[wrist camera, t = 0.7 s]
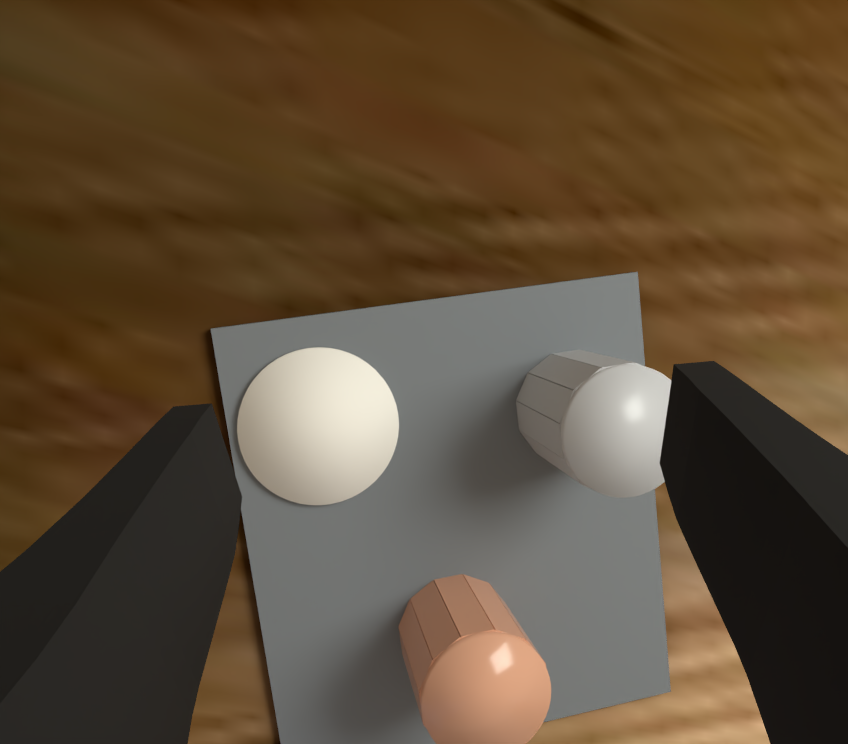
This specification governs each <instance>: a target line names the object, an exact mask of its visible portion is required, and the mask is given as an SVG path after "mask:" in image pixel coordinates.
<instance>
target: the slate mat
mask: <svg viewBox="0 0 848 744" xmlns="http://www.w3.org/2000/svg"><path fill="white" fill-rule="evenodd" d="M211 334H212V340H213V346H214V352H215V358H216V364H217V370H218V376H219V382H220V388H221V394H222V400H223V405H224V411H225V417H226V423H227V429H228V435H229V441H230V447H231V453H232V459H233V465H234V471H235V476H236V479H237V482H238V485H239V488H240V492H241V495H242V503H241V512H242V518H243V524H244V530H245V536H246V542H247V548H248V554H249V559H250V565H251V571H252V577H253V583H254V589H255V595H256V601H257V607H258V613H259V619H260V625H261V631H262V636H263V642H264V648H265V654H266V660H267V666H268V672H269V678H270V684H271V690H272V696H273V702H274V708H275V713H276V719H277V725H278V731H279V737H280V743H281V744H436V743H435V741H434V740H433V739H432V738H431V736H430V734H429V732H428V730H427V729H426V727H425V726H424V725H423V722H422V719H421V715H420V712H419V709H418V705H417V702H416V699H415V695H414V692H413V689H412V685H411V682H410V678H409V675H408V672H407V668H406V665H405V662H404V658H403V655H402V649H401V642H400V635H399V624H400V621H401V619H402V617H403V614H404V612H405V609H406V607H407V605H408V602H409V600H411V599H410V598H412V597H413V596H414V595H415V594H417V593H418V592H419V591H420V590H421V589H423V588H424V587H425V586H426V585H428V584H429V583H430V582H431V581H434V580H435V579H440V578H445V577H450V576H455V575H460V574H462V575H463V574H464V575H467V576H470V577H473V578H476V579H479V580H482V581H485V582H488V583H490V585H491V586H492V587H493V588H494V590H495V591H496V592H497V593H498V595H499V596H500V597H501V598H502V599H503V601H504V602H505V603H506V605H507V606H508V608H509V609H510V611H511V612H512V614H513V615H514V617H515V618H516V620H517V621H518V623H519V624H520V626H521V627H522V629H523V630H524V632H525V633H526V635H527V636H528V638H529V639H530V641H531V642H532V644H533V645H534V647H535V648H536V650H537V651H538V653H539V654H540V656H541V657H542V659H543V660H544V662H545V663H546V668H547V671H548V674H549V677H550V682H551V701H550V705H549V709H548V712H547V715H546V717H545V719H544V721H543V722H546V721H551V720H555V719H559V718H563V717H567V716H571V715H576V714H580V713H584V712H588V711H592V710H596V709H601V708H605V707H609V706H613V705H617V704H621V703H626V702H630V701H634V700H638V699H642V698H646V697H650V696H655V695H659V694H663V693H667V692H671V690H670V677H669V664H668V651H667V639H666V626H665V613H664V601H663V588H662V575H661V563H660V550H659V537H658V525H657V512H656V499H655V489H653V490H651V491H650V492H647V493H645V494H642V495H639V496H635V497H628V498H617V497H610V496H607V495H603V494H601V493H599V492H596V491H594V490H593V489H591V488H588V487H585V486H583V485H581V484H580V483H579V482H577V481H576V480H574V479H573V478H571V477H570V476H569V475H567V474H566V473H564V472H563V471H561V470H560V469H558V468H557V467H556V466H554V465H553V464H551V463H550V462H548V461H547V460H546V459H544V458H543V457H541V456H540V455H538V454H537V453H536V452H535V451H534V450H533V448H532V447H531V446H530V444H529V443H528V442H527V440H526V439H525V438H524V436H523V435H522V434H521V432H520V431H519V425H518V416H517V407H516V399H517V397H518V394H519V392H520V390H521V387H522V385H523V383H524V380H525V378H526V375H527V373H528V372H529V371H530V370H532V369H533V368H534V367H535V366H537V365H538V364H539V363H540V362H542V361H543V360H544V359H545V358H547V357H548V356H549V355H550V354H553V353H560V352H567V351H573V350H584V351H588V352H592V353H597V354H601V355H605V356H610V357H614V358H618V359H623V360H627V361H631V362H636V363H638V364H640V365H642V366H645V360H644V347H643V334H642V321H641V309H640V296H639V283H638V272H632V273H624V274H617V275H609V276H602V277H594V278H587V279H579V280H572V281H564V282H557V283H549V284H542V285H534V286H527V287H519V288H512V289H504V290H497V291H489V292H482V293H474V294H467V295H459V296H452V297H444V298H437V299H429V300H422V301H414V302H407V303H399V304H392V305H384V306H377V307H369V308H362V309H354V310H347V311H339V312H332V313H324V314H317V315H309V316H302V317H294V318H287V319H279V320H272V321H264V322H257V323H249V324H242V325H234V326H227V327H219V328H212V329H211Z"/></svg>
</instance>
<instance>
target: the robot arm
mask: <svg viewBox="0 0 848 744" xmlns="http://www.w3.org/2000/svg"><path fill="white" fill-rule="evenodd" d="M660 467H661V470H662V473H663V477H664V480H665V484H666V487H667V490H668V494H669V497H670V500H671V503H672V506H673V510H674V513H675V516H676V519H677V521H678V524H679V526H680V528H681V530H682V533H683V535H684V537H685V539H686V541H687V544H688V546H689V548H690V550H691V552H692V555H693V557H694V559H695V561H696V563H697V566H698V568H699V570H700V572H701V574H702V576H703V579H704V581H705V583H706V585H707V587H708V589H709V591H710V594H711V596H712V598H713V600H714V602H715V604H716V606H717V609H718V611H719V613H720V615H721V617H722V619H723V622H724V624H725V626H726V628H727V630H728V632H729V634H730V637H731V639H732V641H733V643H734V645H735V648H736V650H737V652H738V655H739V657H740V660H741V662H742V664H743V667H744V669H745V672H746V674H747V677H748V679H749V682H750V685H751V688H752V691H753V694H754V697H755V700H756V703H757V706H758V708H759V711H760V714H761V717H762V720H763V723H764V726H765V729H766V732H767V734H768V737H769V740H770V743H771V744H848V455H847V454H845V453H844V452H842V451H841V450H839V449H838V448H836V447H835V446H833V445H832V444H830V443H829V442H827V441H826V440H824V439H823V438H821V437H820V436H818V435H817V434H815V433H814V432H813V431H811V430H810V429H808V428H807V427H805V426H804V425H803V424H801V423H800V422H798V421H797V420H795V419H794V418H793V417H791V416H790V415H788V414H787V413H786V412H784V411H783V410H781V409H780V408H779V407H777V406H776V405H775V404H773V403H772V402H771V401H769V400H768V399H766V398H765V397H764V396H762V395H761V394H760V393H758V392H757V391H755V390H754V389H753V388H751V387H750V386H749V385H747V384H746V383H744V382H743V381H742V380H740V379H739V378H738V377H736V376H735V375H733V374H732V373H731V372H729V371H728V370H726V369H725V368H723V367H722V366H720V365H719V364H718V363H716V362H714V361H709V362H697V363H686V364H674V367H673V374H672V381H671V387H670V394H669V401H668V408H667V415H666V422H665V429H664V436H663V443H662V449H661V456H660ZM241 503H242V495H241V492H240V488H239V485H238V482H237V479H236V476H235V473H234V470H233V467H232V464H231V461H230V458H229V455H228V452H227V449H226V446H225V443H224V440H223V437H222V434H221V431H220V428H219V425H218V421H217V418H216V415H215V412H214V409H213V406H212V404H201V405H189V406H177V407H173V408H172V409H171V410H170V411H169V412H167V413H166V414H165V415H164V416H163V417H162V418H161V419H160V420H159V421H158V422H157V423H156V424H155V425H154V426H153V427H152V428H151V429H150V430H149V431H148V432H147V433H146V434H145V435H144V437H143V438H142V439H141V440H140V441H139V442H138V443H137V444H136V445H135V446H134V447H133V448H132V449H131V450H130V451H129V452H128V453H127V454H126V455H125V456H124V457H123V458H122V459H121V460H120V461H119V462H118V463H117V464H116V465H115V466H114V467H113V468H112V469H111V470H110V471H109V472H108V473H107V474H106V475H105V476H104V477H103V478H102V479H101V480H100V481H99V482H98V483H97V484H96V485H95V486H94V487H93V488H92V489H91V490H90V491H89V492H88V493H87V494H86V495H85V496H84V497H83V498H82V499H81V500H80V501H79V502H78V503H77V504H76V505H75V506H74V507H73V508H72V509H70V510H69V511H68V512H67V513H66V514H65V515H64V516H63V517H62V518H61V519H60V520H59V521H57V522H56V523H55V524H54V525H53V526H52V527H51V528H50V529H49V530H48V531H47V532H46V533H44V534H43V535H42V536H41V537H40V538H39V539H38V540H37V541H36V542H35V543H34V544H33V545H31V546H30V547H29V548H28V549H27V550H26V551H25V552H23V553H22V554H21V555H20V556H19V557H18V558H16V559H15V560H14V561H13V562H12V563H10V564H9V565H8V566H7V567H6V568H4V569H3V570H2V571H1V572H0V744H187V743H188V737H189V731H190V725H191V719H192V714H193V710H194V706H195V701H196V697H197V693H198V688H199V684H200V681H201V677H202V673H203V670H204V666H205V662H206V659H207V655H208V652H209V648H210V644H211V641H212V637H213V633H214V630H215V626H216V623H217V619H218V615H219V612H220V608H221V604H222V601H223V597H224V593H225V590H226V586H227V582H228V578H229V575H230V571H231V567H232V563H233V559H234V555H235V549H236V542H237V535H238V529H239V520H240V512H241Z"/></svg>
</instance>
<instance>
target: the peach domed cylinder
mask: <svg viewBox="0 0 848 744" xmlns="http://www.w3.org/2000/svg"><path fill="white" fill-rule="evenodd" d="M410 599H411V600H409V602H408V605H407V607H406V609H405V612H404V614H403V617H402V619H401V621H400V624H399V635H400V642H401V649H402V655H403V658H404V662H405V665H406V668H407V672H408V675H409V678H410V682H411V685H412V689H413V692H414V695H415V699H416V702H417V705H418V709H419V712H420V715H421V719H422V722H423V725H424V726H425V727H426V729H427V730H428V732H429V734H430V736H431V738H432V739H433V740H434V741H435V743H436V744H526V743H527V742H528V741H529V740H530V739H531V738H532V737H533V736H534V735H535V734H536V732H537V731H538V730H539V728H540V727H541V725H542V723H543V721H544V719H545V717H546V715H547V712H548V709H549V705H550V701H551V682H550V677H549V674H548V671H547V668H546V663H545V662H544V660H543V659H542V657H541V656H540V654H539V653H538V651H537V650H536V648H535V647H534V645H533V644H532V642H531V641H530V639H529V638H528V636H527V635H526V633H525V632H524V630H523V629H522V627H521V626H520V624H519V623H518V621H517V620H516V618H515V617H514V615H513V614H512V612H511V611H510V609H509V608H508V606H507V605H506V603H505V602H504V601H503V599H502V598H501V597H500V596H499V595H498V593H497V592H496V591H495V590H494V588H493V587H492V586H491V585H490V583H488V582H485V581H482V580H479V579H476V578H473V577H470V576H467V575H464V574H463V575H462V574H460V575H455V576H450V577H445V578H440V579H435V580H434V581H431V582H430V583H429V584H428V585H426V586H425V587H424V588H423V589H421V590H420V591H419V592H418V593H417V594H415V595H414V596H413V597H412V598H410Z"/></svg>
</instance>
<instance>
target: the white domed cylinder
mask: <svg viewBox="0 0 848 744" xmlns="http://www.w3.org/2000/svg"><path fill="white" fill-rule="evenodd" d="M670 387H671V380H670V379H669V378H667V377H666V376H665V375H663V374H662V373H660V372H658V371H656V370H654V369H651V368H648V367H645V366H642V365H640V364H638V363H636V362H631V361H627V360H623V359H618V358H614V357H610V356H605V355H601V354H597V353H592V352H588V351H584V350H573V351H567V352H560V353H553V354H550V355H549V356H548V357H547V358H545V359H544V360H543V361H542V362H540V363H539V364H538V365H537V366H535V367H534V368H533V369H532V370H530V371H529V372H528V373H527V375H526V378H525V380H524V383H523V385H522V387H521V390H520V392H519V394H518V397H517V399H516V407H517V416H518V425H519V431H520V432H521V434H522V435H523V436H524V438H525V439H526V440H527V442H528V443H529V444H530V446H531V447H532V448H533V450H534V451H535V452H536V453H537V454H538V455H540V456H541V457H543V458H544V459H546V460H547V461H548V462H550V463H551V464H553V465H554V466H556V467H557V468H558V469H560V470H561V471H563V472H564V473H566V474H567V475H569V476H570V477H571V478H573V479H574V480H576V481H577V482H579V483H580V484H581V485H583V486H585V487H588V488H591V489H593V490H594V491H596V492H599V493H601V494H603V495H607V496H610V497H617V498H628V497H635V496H639V495H642V494H645V493H647V492H650V491H651V490H653V489H655V488H657V487H658V486H660V485H661V484H662V483H664V482H665V480H664V477H663V473H662V470H661V467H660V456H661V449H662V443H663V436H664V429H665V422H666V415H667V408H668V401H669V394H670Z"/></svg>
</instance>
